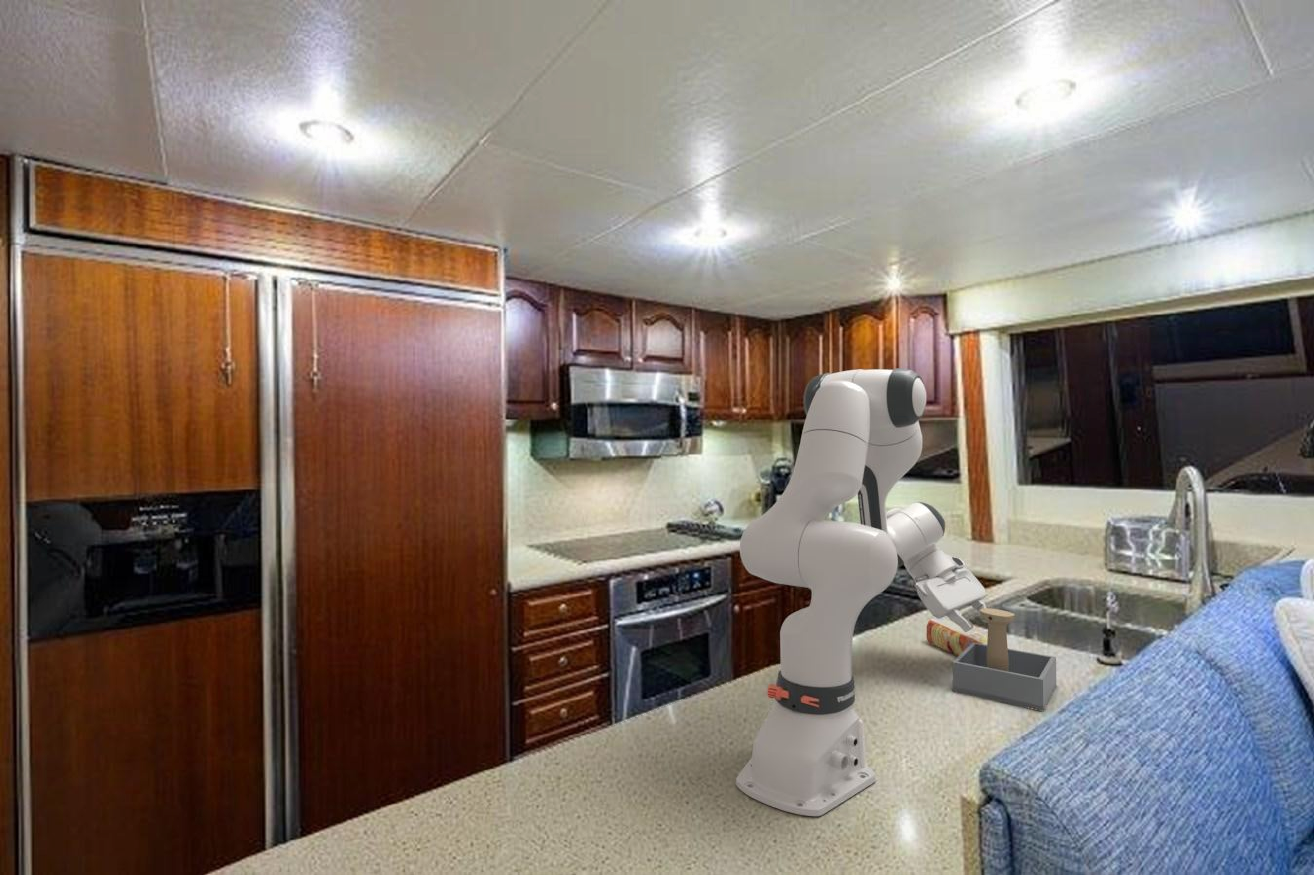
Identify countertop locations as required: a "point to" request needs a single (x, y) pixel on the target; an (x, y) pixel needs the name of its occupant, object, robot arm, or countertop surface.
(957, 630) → the snack package
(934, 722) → the countertop surface
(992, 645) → the handle
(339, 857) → the countertop surface
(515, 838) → the countertop surface
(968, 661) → the box
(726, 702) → the countertop surface
